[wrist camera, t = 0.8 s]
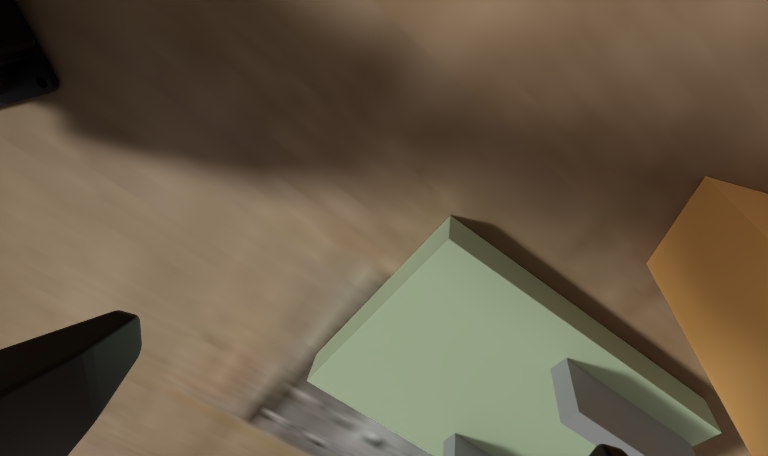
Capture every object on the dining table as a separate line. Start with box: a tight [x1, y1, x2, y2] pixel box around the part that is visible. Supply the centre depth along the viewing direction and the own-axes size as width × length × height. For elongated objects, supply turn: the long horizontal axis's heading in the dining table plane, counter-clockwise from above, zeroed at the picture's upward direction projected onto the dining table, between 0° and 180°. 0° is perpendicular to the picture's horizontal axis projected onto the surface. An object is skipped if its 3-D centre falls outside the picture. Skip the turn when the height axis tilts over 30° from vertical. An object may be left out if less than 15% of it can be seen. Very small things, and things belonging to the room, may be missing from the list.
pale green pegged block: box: [307, 215, 722, 456], centre depth 24 cm, size 17×12×5 cm
